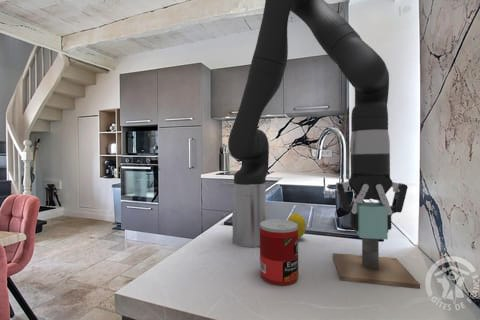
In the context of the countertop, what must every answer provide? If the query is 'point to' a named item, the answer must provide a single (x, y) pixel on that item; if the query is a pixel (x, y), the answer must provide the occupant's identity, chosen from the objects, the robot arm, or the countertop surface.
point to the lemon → (298, 223)
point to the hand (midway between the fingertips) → (370, 230)
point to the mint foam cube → (372, 221)
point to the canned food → (279, 251)
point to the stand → (373, 267)
